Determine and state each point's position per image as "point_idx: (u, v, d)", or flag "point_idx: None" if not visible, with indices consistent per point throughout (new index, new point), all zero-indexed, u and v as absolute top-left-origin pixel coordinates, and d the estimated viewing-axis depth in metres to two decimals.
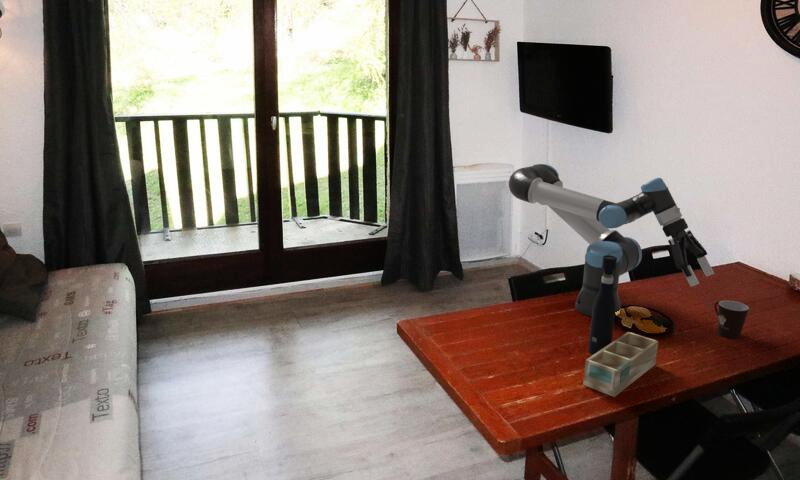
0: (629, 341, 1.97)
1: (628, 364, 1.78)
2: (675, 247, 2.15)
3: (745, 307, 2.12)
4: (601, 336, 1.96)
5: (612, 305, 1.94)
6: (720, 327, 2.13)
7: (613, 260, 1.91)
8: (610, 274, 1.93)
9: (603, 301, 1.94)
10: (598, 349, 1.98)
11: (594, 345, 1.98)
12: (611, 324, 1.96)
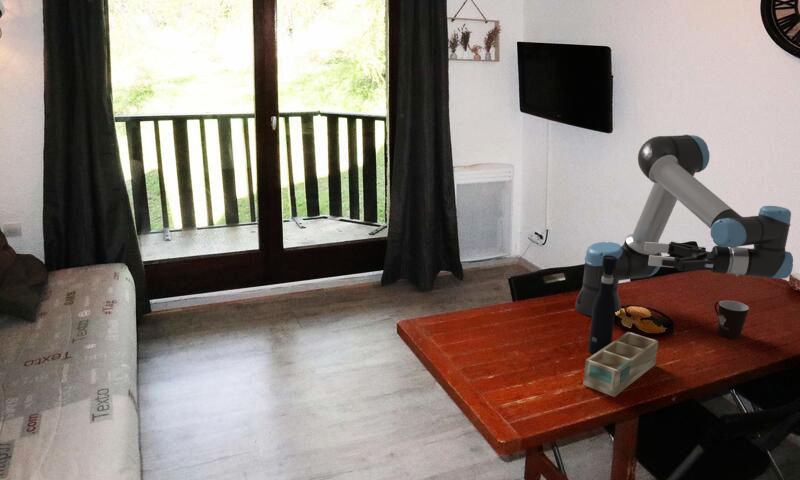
0: (629, 341, 1.97)
1: (628, 364, 1.78)
2: (701, 266, 1.79)
3: (745, 307, 2.12)
4: (601, 336, 1.96)
5: (612, 305, 1.94)
6: (720, 327, 2.13)
7: (613, 260, 1.91)
8: (610, 274, 1.93)
9: (603, 301, 1.94)
10: (598, 349, 1.98)
11: (594, 345, 1.98)
12: (611, 324, 1.96)
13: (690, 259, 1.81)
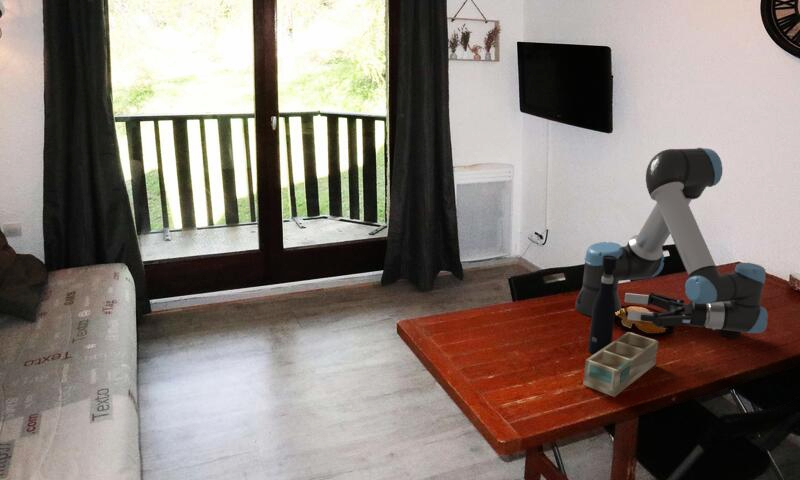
0: (629, 341, 1.97)
1: (628, 364, 1.78)
2: (678, 322, 1.84)
3: None
4: (601, 336, 1.96)
5: (612, 305, 1.94)
6: None
7: (613, 260, 1.91)
8: (610, 274, 1.93)
9: (603, 301, 1.94)
10: (598, 349, 1.98)
11: (594, 345, 1.98)
12: (611, 324, 1.96)
13: (668, 314, 1.86)
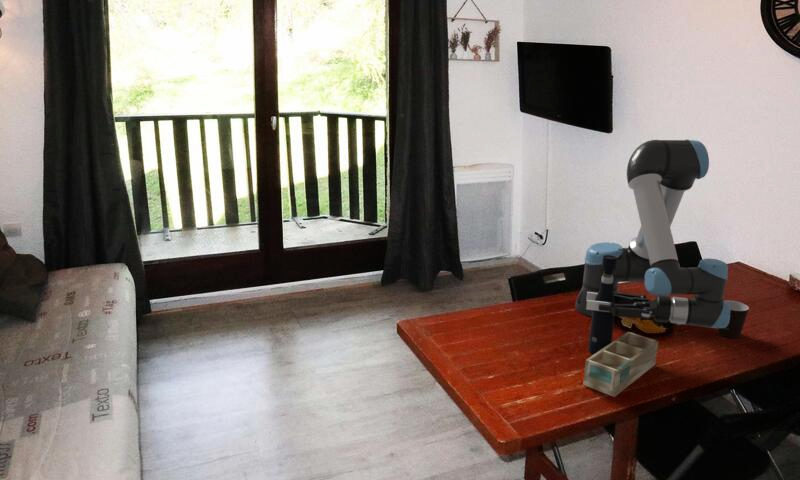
0: (629, 341, 1.97)
1: (628, 364, 1.78)
2: (637, 315, 1.89)
3: (745, 307, 2.12)
4: (601, 336, 1.96)
5: None
6: None
7: (613, 260, 1.91)
8: (610, 274, 1.93)
9: (603, 301, 1.94)
10: (598, 349, 1.98)
11: (594, 345, 1.98)
12: (611, 324, 1.96)
13: (627, 306, 1.91)
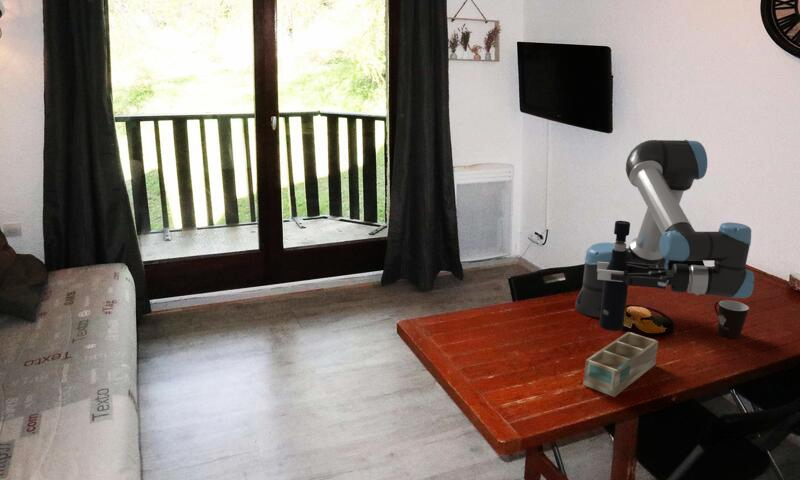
0: (629, 341, 1.97)
1: (628, 364, 1.78)
2: (652, 284, 1.74)
3: (745, 307, 2.12)
4: (613, 309, 1.82)
5: None
6: (720, 327, 2.13)
7: (626, 225, 1.76)
8: (623, 240, 1.78)
9: (615, 270, 1.79)
10: (610, 323, 1.83)
11: (606, 319, 1.83)
12: (624, 295, 1.81)
13: (642, 275, 1.77)
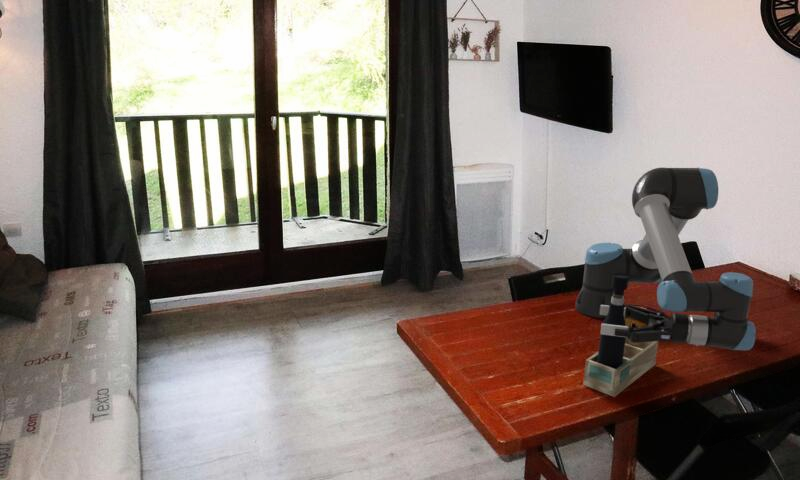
0: (629, 341, 1.97)
1: (628, 364, 1.78)
2: (656, 337, 1.67)
3: None
4: (610, 363, 1.77)
5: None
6: None
7: (624, 279, 1.71)
8: (621, 294, 1.73)
9: None
10: None
11: None
12: (621, 350, 1.76)
13: (645, 329, 1.69)
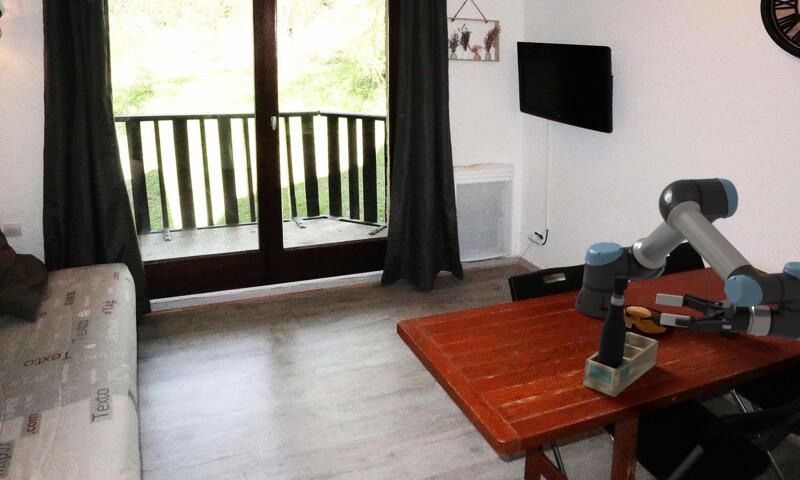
0: (629, 341, 1.97)
1: (628, 364, 1.78)
2: (718, 327, 1.64)
3: None
4: (610, 363, 1.77)
5: (623, 329, 1.74)
6: None
7: (625, 279, 1.71)
8: (621, 295, 1.73)
9: (612, 325, 1.74)
10: None
11: None
12: (621, 350, 1.76)
13: (706, 318, 1.66)
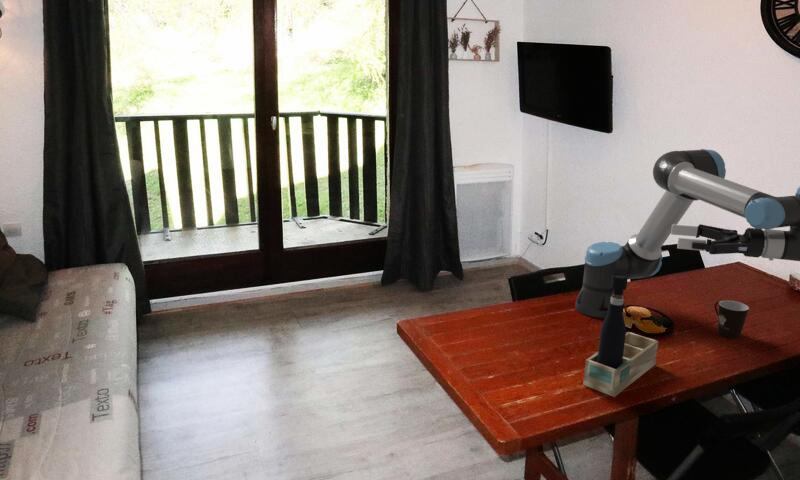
0: (629, 341, 1.97)
1: (628, 364, 1.78)
2: (734, 249, 1.69)
3: (745, 307, 2.12)
4: (610, 363, 1.77)
5: (622, 329, 1.74)
6: (720, 327, 2.13)
7: (624, 279, 1.71)
8: (620, 294, 1.73)
9: (612, 325, 1.74)
10: None
11: None
12: (621, 350, 1.76)
13: (722, 242, 1.71)
